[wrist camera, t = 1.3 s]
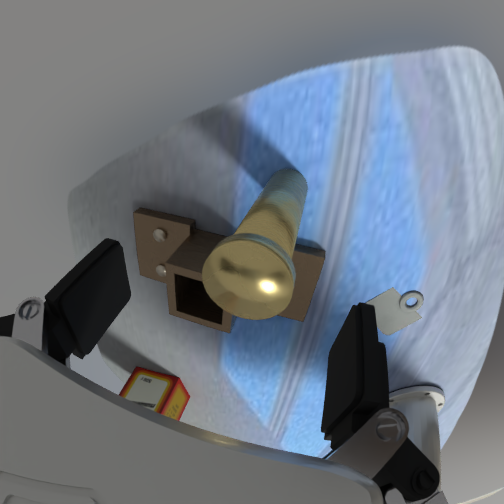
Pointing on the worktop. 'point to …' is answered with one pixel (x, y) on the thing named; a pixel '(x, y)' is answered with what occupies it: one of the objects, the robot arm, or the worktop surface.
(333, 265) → the worktop surface
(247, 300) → the pin
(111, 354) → the worktop surface
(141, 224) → the hinge base
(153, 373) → the baking soda box
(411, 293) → the mounting bracket
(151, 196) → the worktop surface
